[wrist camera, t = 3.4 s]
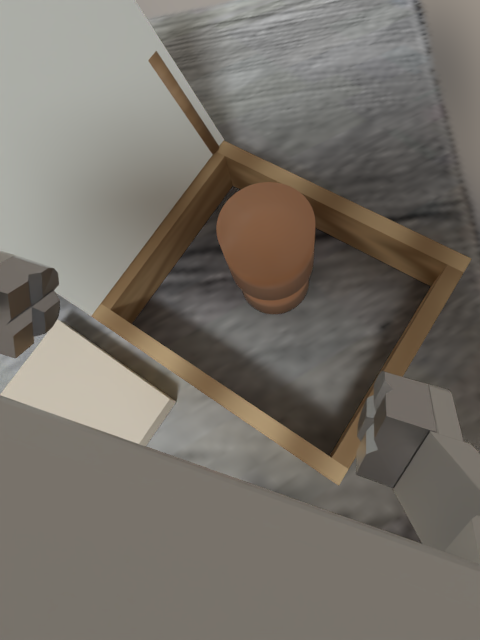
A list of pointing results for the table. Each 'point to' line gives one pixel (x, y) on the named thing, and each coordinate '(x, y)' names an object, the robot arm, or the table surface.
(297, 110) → the table surface
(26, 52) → the propped lid
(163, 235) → the cold frame
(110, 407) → the tile
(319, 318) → the table surface
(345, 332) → the table surface
